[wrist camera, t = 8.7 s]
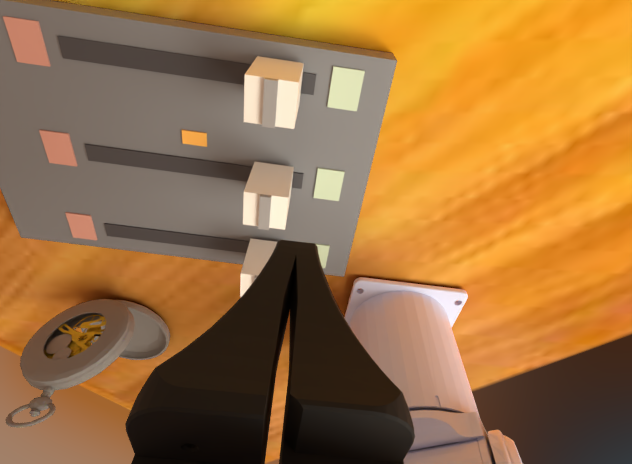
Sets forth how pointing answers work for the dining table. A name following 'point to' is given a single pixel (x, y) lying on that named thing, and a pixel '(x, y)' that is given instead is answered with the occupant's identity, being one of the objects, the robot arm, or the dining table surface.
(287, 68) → the handle
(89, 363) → the pocket watch
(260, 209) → the handle
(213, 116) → the panel
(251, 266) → the handle
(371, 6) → the dining table surface
